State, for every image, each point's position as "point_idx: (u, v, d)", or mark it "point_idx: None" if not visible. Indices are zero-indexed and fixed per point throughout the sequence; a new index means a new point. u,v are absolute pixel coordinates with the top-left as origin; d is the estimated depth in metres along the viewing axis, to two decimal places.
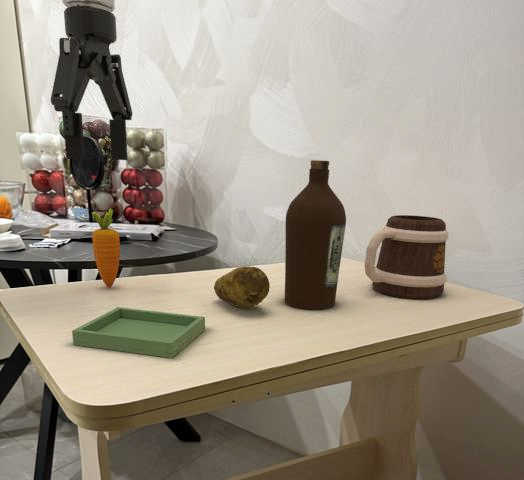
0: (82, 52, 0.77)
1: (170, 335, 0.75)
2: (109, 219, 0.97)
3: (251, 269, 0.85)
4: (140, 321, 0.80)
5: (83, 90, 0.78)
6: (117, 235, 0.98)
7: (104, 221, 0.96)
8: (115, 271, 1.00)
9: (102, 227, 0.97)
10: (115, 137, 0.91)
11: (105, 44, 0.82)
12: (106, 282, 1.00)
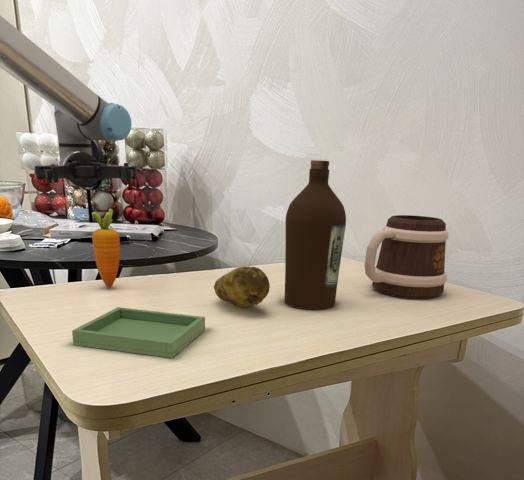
0: None
1: (170, 335, 0.75)
2: (109, 219, 0.97)
3: (251, 269, 0.85)
4: (140, 321, 0.80)
5: (112, 177, 1.12)
6: (117, 235, 0.98)
7: (104, 221, 0.96)
8: (115, 271, 1.00)
9: (102, 227, 0.97)
10: None
11: None
12: (106, 282, 1.00)
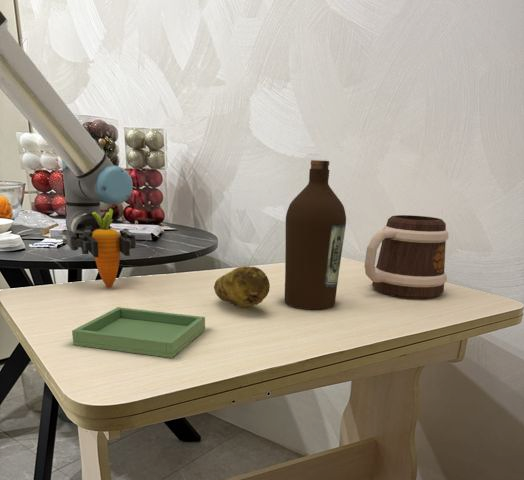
0: None
1: (170, 335, 0.75)
2: (109, 219, 0.97)
3: (251, 269, 0.85)
4: (140, 321, 0.80)
5: None
6: (117, 235, 0.98)
7: (104, 221, 0.96)
8: (115, 271, 1.00)
9: (102, 227, 0.97)
10: None
11: None
12: (106, 282, 1.00)
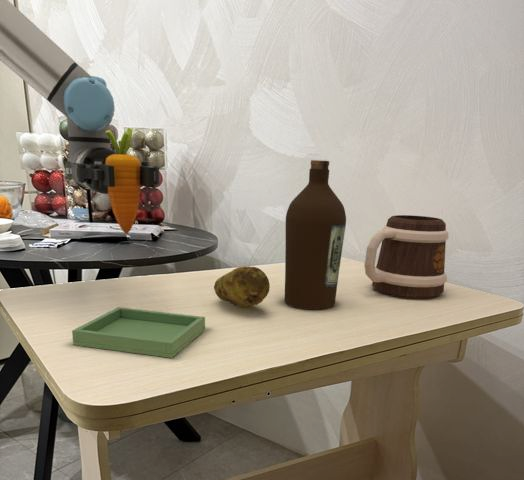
0: None
1: (170, 335, 0.75)
2: (128, 141, 0.75)
3: (251, 269, 0.85)
4: (140, 321, 0.80)
5: None
6: (138, 163, 0.76)
7: (121, 143, 0.74)
8: (134, 211, 0.78)
9: (119, 151, 0.75)
10: None
11: None
12: (123, 225, 0.78)
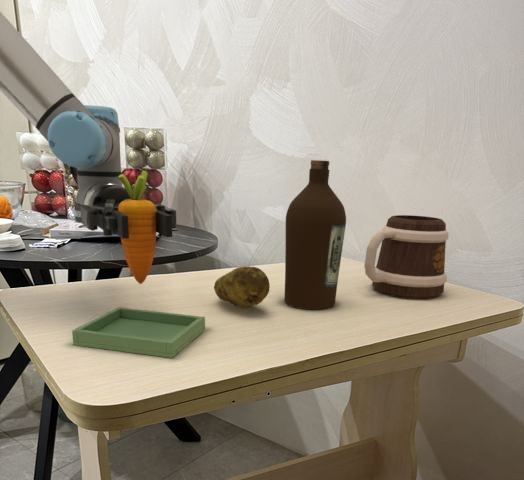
0: None
1: (170, 335, 0.75)
2: (142, 185, 0.68)
3: (251, 269, 0.85)
4: (140, 321, 0.80)
5: None
6: (153, 208, 0.69)
7: (136, 188, 0.67)
8: (150, 260, 0.71)
9: (133, 197, 0.68)
10: None
11: None
12: (137, 275, 0.71)
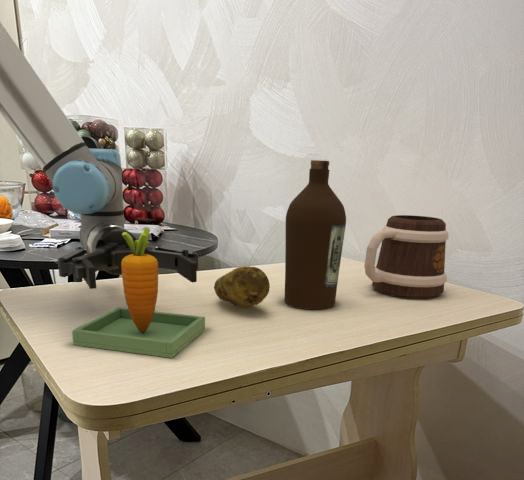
0: None
1: (170, 335, 0.75)
2: (145, 241, 0.71)
3: (251, 269, 0.85)
4: None
5: (163, 267, 0.80)
6: (155, 263, 0.72)
7: (138, 244, 0.70)
8: (152, 311, 0.74)
9: (135, 253, 0.71)
10: None
11: None
12: (139, 326, 0.74)
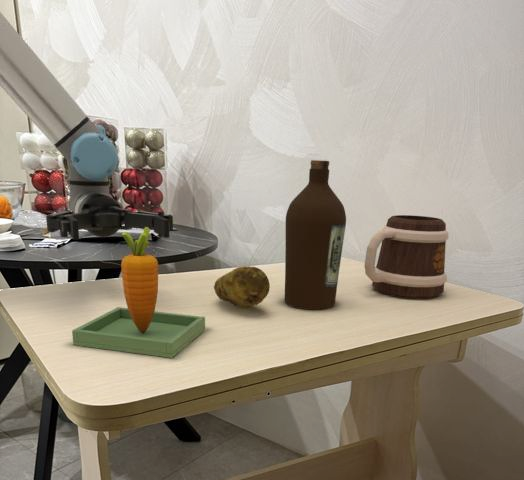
0: None
1: (170, 335, 0.75)
2: (145, 241, 0.71)
3: (251, 269, 0.85)
4: None
5: (142, 228, 0.90)
6: (155, 263, 0.72)
7: (138, 244, 0.70)
8: (152, 311, 0.74)
9: (135, 253, 0.71)
10: None
11: None
12: (139, 326, 0.74)
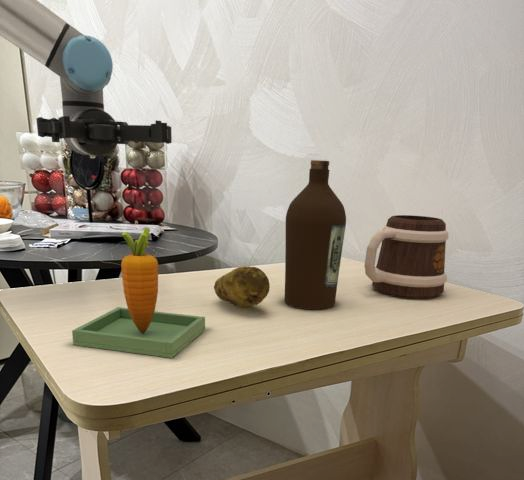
0: None
1: (170, 335, 0.75)
2: (145, 241, 0.71)
3: (251, 269, 0.85)
4: None
5: (139, 141, 0.85)
6: (155, 263, 0.72)
7: (138, 244, 0.70)
8: (152, 311, 0.74)
9: (135, 253, 0.71)
10: None
11: None
12: (139, 326, 0.74)
